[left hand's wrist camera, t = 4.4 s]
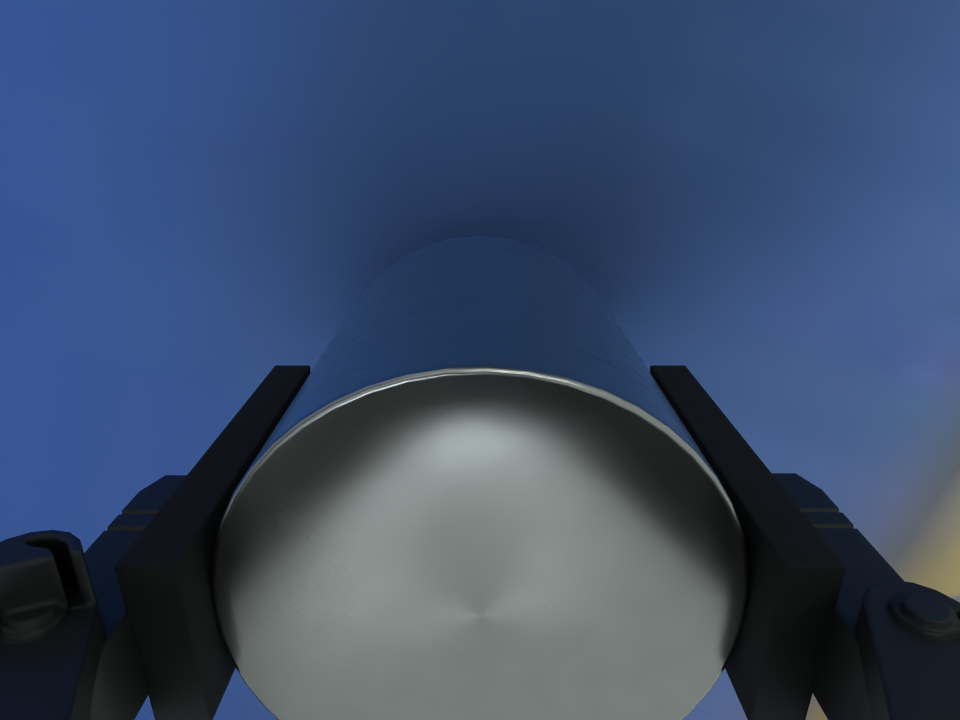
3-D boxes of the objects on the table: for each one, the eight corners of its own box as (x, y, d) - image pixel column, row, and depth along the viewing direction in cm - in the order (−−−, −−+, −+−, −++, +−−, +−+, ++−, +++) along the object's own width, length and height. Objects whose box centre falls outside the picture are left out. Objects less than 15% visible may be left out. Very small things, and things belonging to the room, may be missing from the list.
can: (514, 171, 15) (554, 241, 7) (674, 403, 17) (842, 657, 9) (279, 348, 16) (91, 569, 8) (453, 538, 18) (433, 854, 11)
